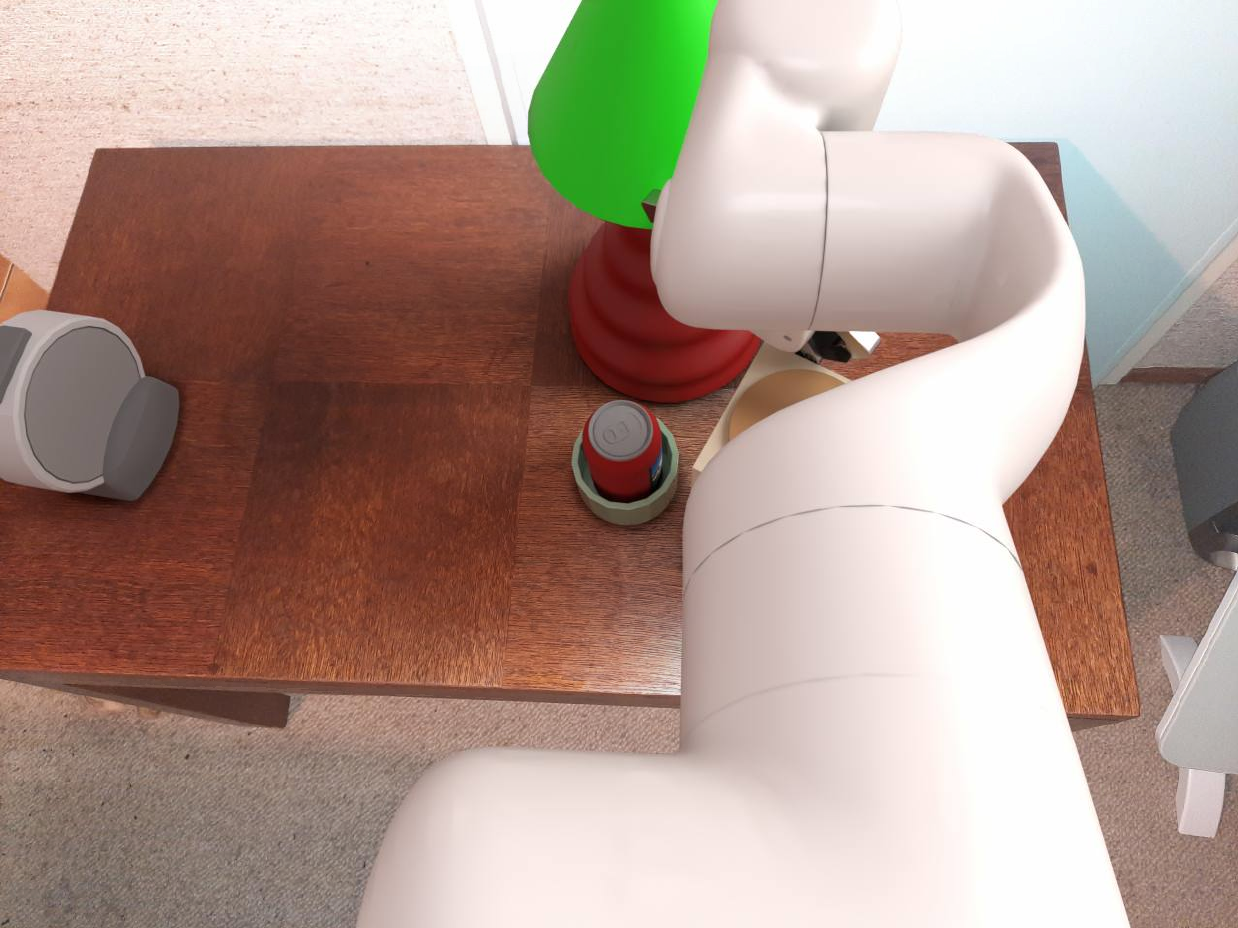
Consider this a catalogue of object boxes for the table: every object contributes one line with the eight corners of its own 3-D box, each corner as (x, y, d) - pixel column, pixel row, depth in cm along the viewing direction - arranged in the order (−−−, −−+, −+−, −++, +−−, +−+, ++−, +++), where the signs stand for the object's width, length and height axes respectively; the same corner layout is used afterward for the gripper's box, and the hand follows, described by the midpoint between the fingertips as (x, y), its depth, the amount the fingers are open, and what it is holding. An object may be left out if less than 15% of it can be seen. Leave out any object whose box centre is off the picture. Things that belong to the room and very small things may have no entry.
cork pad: (836, 532, 51) (837, 531, 51) (702, 464, 53) (703, 462, 52) (899, 410, 53) (900, 407, 53) (768, 349, 55) (769, 346, 55)
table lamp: (802, 346, 86) (924, -77, 44) (630, 439, 83) (583, 88, 41) (700, 206, 92) (720, -278, 50) (538, 289, 90) (416, -146, 48)
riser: (783, 619, 77) (840, 543, 51) (685, 566, 79) (691, 467, 53) (831, 525, 80) (909, 407, 53) (735, 476, 82) (765, 339, 55)
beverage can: (676, 487, 81) (676, 442, 70) (614, 522, 80) (605, 482, 69) (639, 430, 83) (634, 378, 72) (579, 464, 83) (565, 417, 71)
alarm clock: (108, 360, 90) (-25, 265, 73) (197, 373, 89) (84, 280, 72) (48, 506, 85) (-110, 440, 68) (143, 521, 84) (6, 458, 67)
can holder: (646, 543, 80) (645, 527, 75) (559, 496, 82) (552, 478, 77) (695, 458, 83) (697, 438, 77) (609, 415, 85) (605, 392, 80)
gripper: (597, 153, 45) (618, 296, 62) (874, 336, 42) (817, 435, 58) (683, 54, 46) (681, 220, 63) (960, 224, 43) (880, 353, 59)
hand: (746, 323), depth 60 cm, fingers open, 9 cm apart
